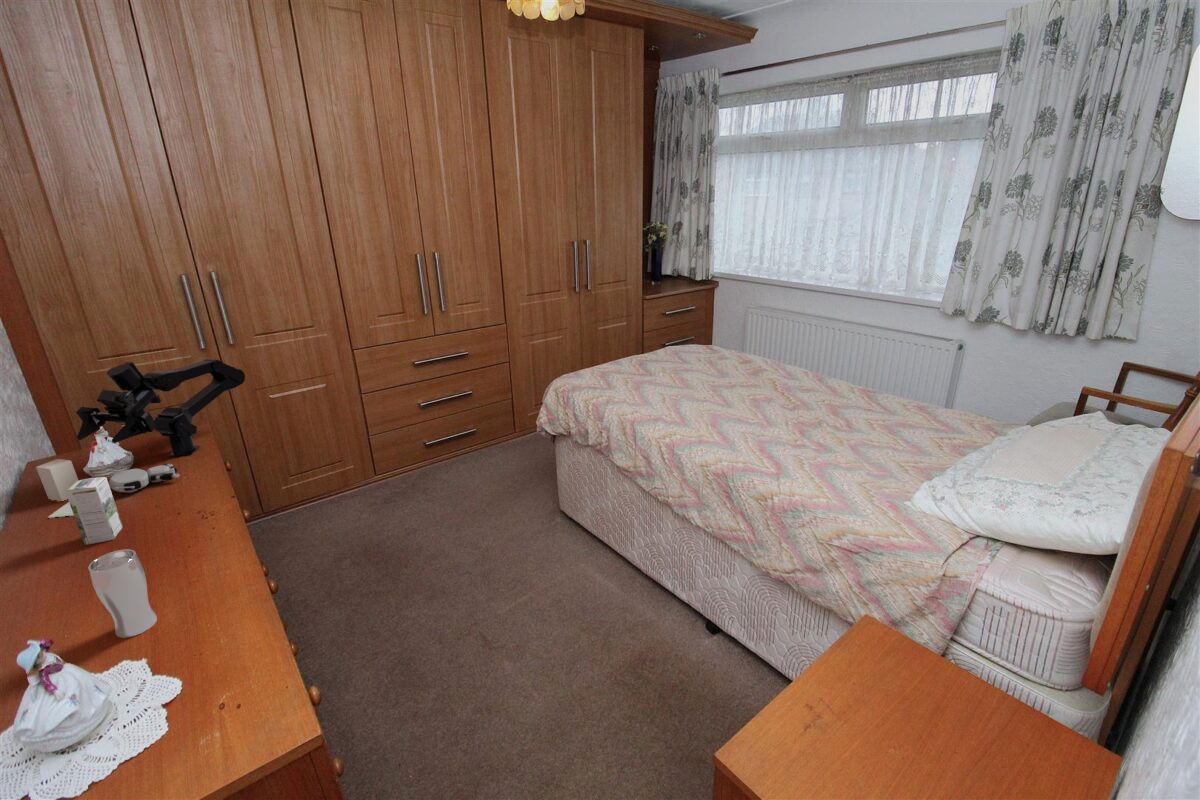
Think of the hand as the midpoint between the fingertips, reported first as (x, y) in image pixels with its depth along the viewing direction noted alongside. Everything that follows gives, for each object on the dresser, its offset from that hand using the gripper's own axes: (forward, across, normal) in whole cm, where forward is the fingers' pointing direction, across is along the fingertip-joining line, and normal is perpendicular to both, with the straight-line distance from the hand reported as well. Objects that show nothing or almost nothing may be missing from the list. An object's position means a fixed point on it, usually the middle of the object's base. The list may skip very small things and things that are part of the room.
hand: (95, 440), depth 147 cm
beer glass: (+53, +51, -10) cm, 74 cm away
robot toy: (+3, +9, +15) cm, 17 cm away
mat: (+15, +1, +10) cm, 18 cm away
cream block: (+9, -8, +14) cm, 19 cm away
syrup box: (+26, +19, +4) cm, 33 cm away
